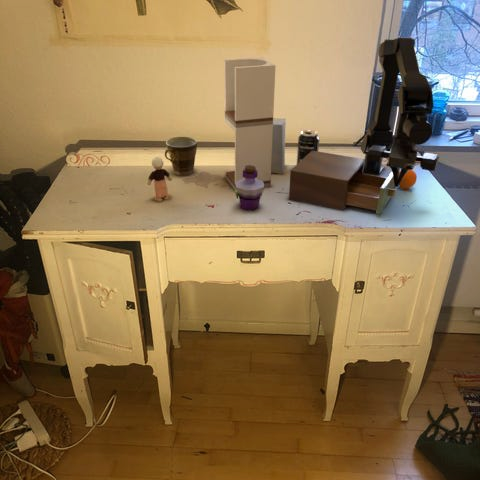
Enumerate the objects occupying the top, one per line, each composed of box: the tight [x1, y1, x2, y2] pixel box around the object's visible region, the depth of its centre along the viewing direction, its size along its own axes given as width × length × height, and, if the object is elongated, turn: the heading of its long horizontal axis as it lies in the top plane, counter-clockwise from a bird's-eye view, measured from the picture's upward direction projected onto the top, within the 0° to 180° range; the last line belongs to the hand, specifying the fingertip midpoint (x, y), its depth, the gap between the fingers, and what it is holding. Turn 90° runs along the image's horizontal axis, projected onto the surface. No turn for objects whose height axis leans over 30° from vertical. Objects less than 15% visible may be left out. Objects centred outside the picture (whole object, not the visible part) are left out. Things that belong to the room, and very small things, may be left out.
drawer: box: [345, 170, 397, 215], centre depth 155 cm, size 18×18×8 cm
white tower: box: [223, 57, 276, 192], centre depth 157 cm, size 11×11×35 cm
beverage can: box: [296, 129, 320, 165], centre depth 174 cm, size 7×7×12 cm
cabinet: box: [288, 150, 365, 211], centre depth 159 cm, size 19×17×9 cm
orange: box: [398, 169, 418, 191], centre depth 163 cm, size 6×6×6 cm
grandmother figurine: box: [146, 156, 173, 202], centre depth 154 cm, size 8×4×13 cm, turn 135°
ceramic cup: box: [164, 136, 198, 176], centre depth 171 cm, size 13×10×10 cm
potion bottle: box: [235, 165, 265, 212], centre depth 150 cm, size 9×9×12 cm
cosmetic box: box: [271, 117, 287, 175], centre depth 172 cm, size 8×7×16 cm
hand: (396, 186), depth 151 cm, fingers closed
